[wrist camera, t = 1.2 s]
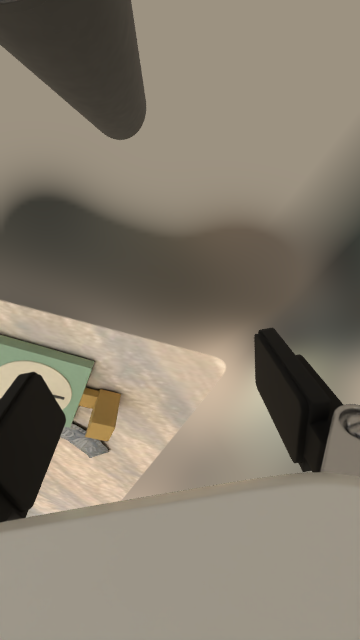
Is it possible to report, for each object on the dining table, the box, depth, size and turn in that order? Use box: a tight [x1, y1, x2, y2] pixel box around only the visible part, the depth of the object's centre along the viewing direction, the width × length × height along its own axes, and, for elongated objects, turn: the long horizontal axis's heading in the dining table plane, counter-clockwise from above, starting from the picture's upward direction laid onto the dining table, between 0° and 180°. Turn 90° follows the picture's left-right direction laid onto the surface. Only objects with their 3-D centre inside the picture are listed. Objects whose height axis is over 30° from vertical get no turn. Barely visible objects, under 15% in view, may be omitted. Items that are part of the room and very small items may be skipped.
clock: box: [0, 335, 121, 441], centre depth 31 cm, size 12×17×6 cm
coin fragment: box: [60, 424, 109, 458], centre depth 39 cm, size 13×5×1 cm, turn 35°
